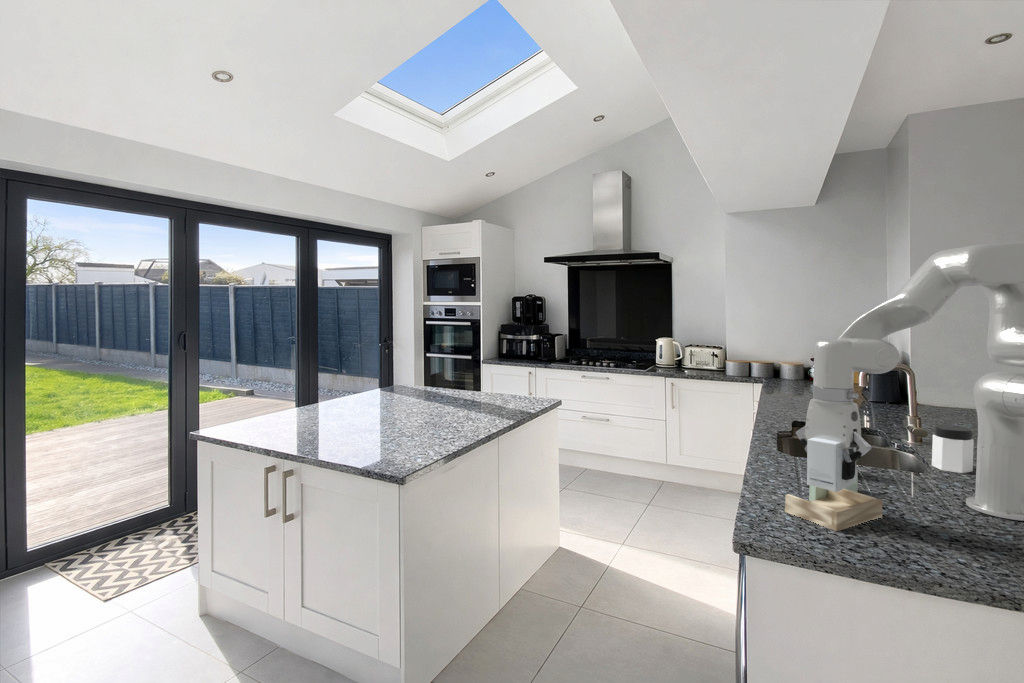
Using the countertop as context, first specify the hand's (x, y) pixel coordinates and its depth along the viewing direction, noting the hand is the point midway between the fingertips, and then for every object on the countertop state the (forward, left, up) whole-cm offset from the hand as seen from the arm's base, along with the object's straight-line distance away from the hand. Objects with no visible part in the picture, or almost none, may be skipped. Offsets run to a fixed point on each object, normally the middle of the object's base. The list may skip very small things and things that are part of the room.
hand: (830, 473), depth 113 cm
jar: (+6, -66, -9) cm, 66 cm away
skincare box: (0, -1, -3) cm, 3 cm away
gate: (+8, -12, -9) cm, 17 cm away
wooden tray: (0, 0, -9) cm, 9 cm away
